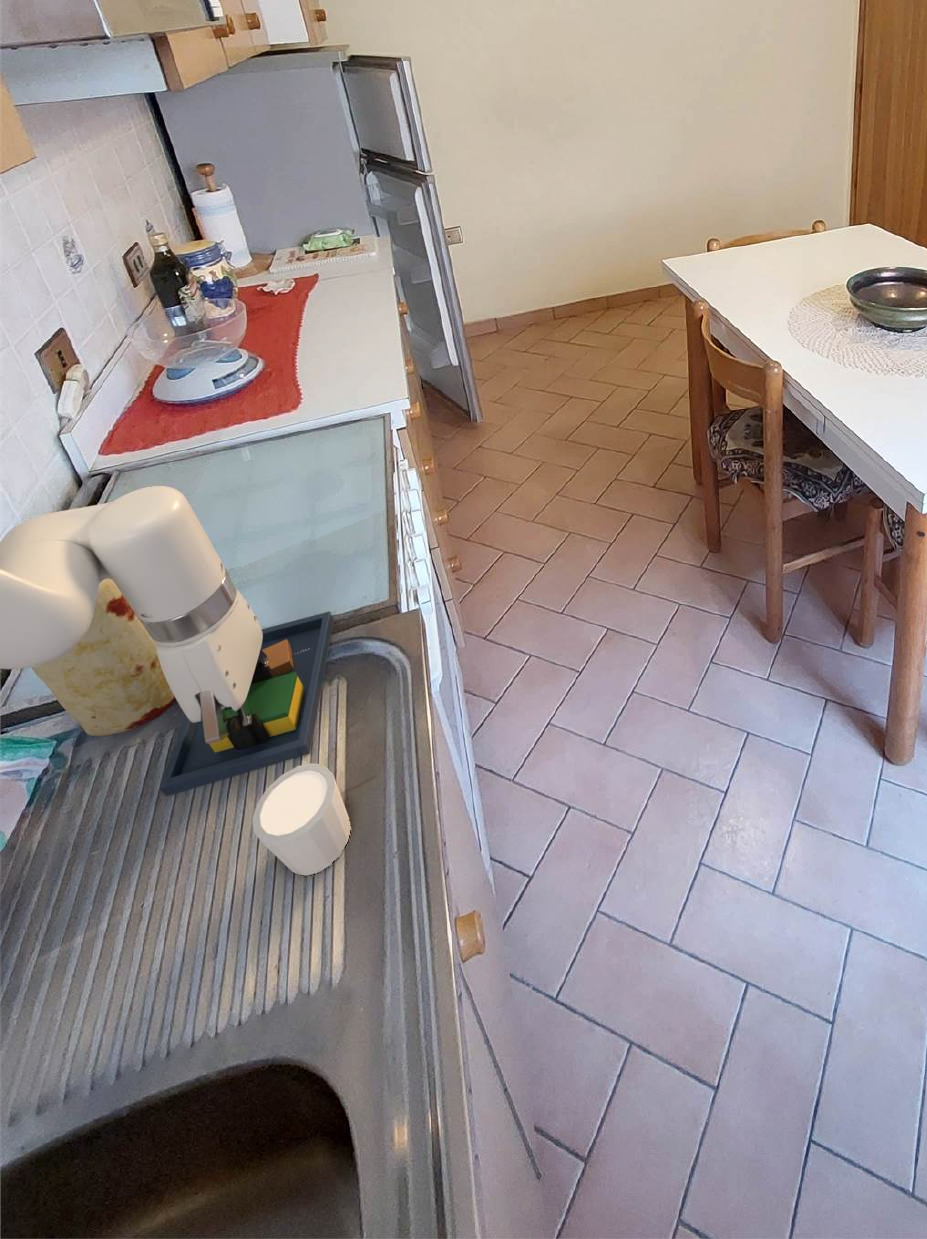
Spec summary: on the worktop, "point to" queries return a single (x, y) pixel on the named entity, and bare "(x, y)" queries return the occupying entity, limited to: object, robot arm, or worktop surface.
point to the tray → (203, 766)
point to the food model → (110, 671)
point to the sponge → (271, 706)
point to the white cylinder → (303, 819)
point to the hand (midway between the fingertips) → (259, 717)
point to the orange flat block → (279, 657)
